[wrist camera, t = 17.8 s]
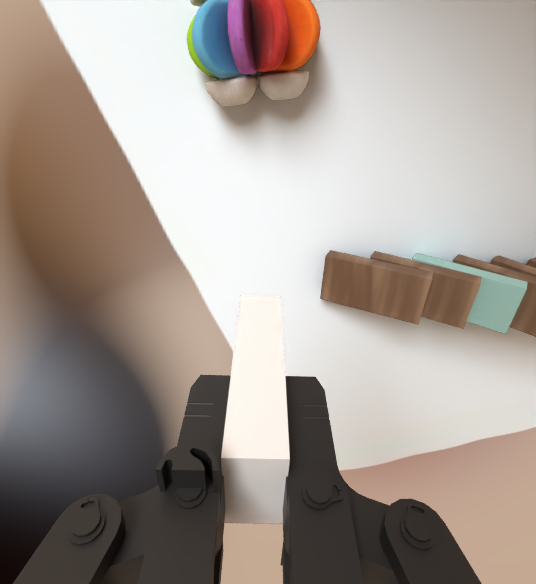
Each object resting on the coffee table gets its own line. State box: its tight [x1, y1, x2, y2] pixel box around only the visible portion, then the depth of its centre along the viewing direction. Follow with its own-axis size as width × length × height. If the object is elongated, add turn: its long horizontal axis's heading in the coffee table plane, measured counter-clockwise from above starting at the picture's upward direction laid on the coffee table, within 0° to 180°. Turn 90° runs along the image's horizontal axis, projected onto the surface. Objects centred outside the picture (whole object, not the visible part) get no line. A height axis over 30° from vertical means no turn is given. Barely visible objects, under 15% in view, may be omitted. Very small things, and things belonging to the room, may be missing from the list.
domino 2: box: [370, 251, 481, 329], centre depth 37 cm, size 2×5×10 cm
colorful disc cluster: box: [187, 0, 320, 106], centre depth 26 cm, size 8×10×7 cm
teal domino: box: [412, 253, 527, 334], centre depth 37 cm, size 2×5×10 cm
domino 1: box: [320, 250, 433, 324], centre depth 37 cm, size 2×5×10 cm
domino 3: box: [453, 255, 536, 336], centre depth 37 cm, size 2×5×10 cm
